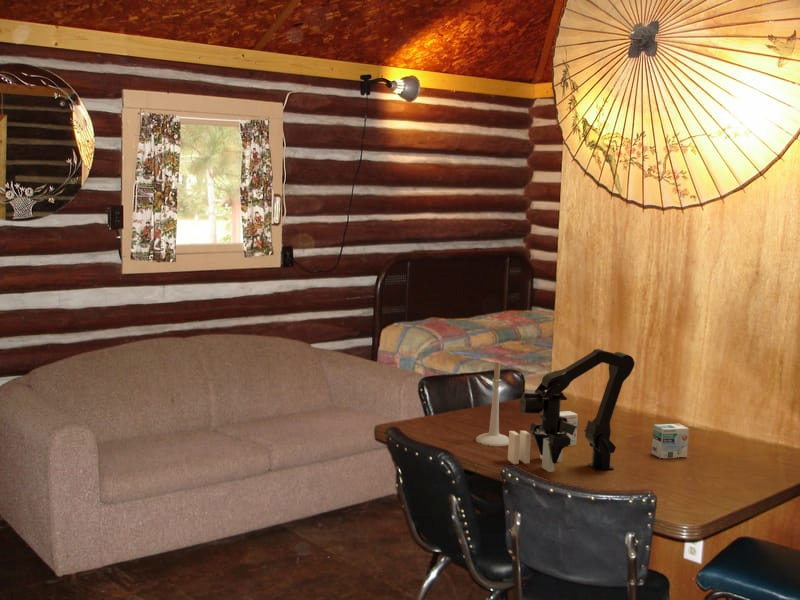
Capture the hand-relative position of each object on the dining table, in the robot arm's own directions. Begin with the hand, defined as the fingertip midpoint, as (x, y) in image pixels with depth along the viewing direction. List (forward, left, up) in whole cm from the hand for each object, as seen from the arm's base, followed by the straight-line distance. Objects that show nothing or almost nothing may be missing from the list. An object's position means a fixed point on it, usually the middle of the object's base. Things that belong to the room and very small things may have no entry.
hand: (548, 459), depth 296 cm
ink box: (+27, -19, -4) cm, 33 cm away
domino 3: (+10, -4, -4) cm, 11 cm away
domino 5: (+10, -8, -4) cm, 13 cm away
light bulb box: (+8, -51, -4) cm, 52 cm away
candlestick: (+35, +5, -4) cm, 36 cm away
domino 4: (0, 0, -4) cm, 4 cm away
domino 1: (+10, +8, -4) cm, 13 cm away
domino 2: (+10, +4, -4) cm, 11 cm away
